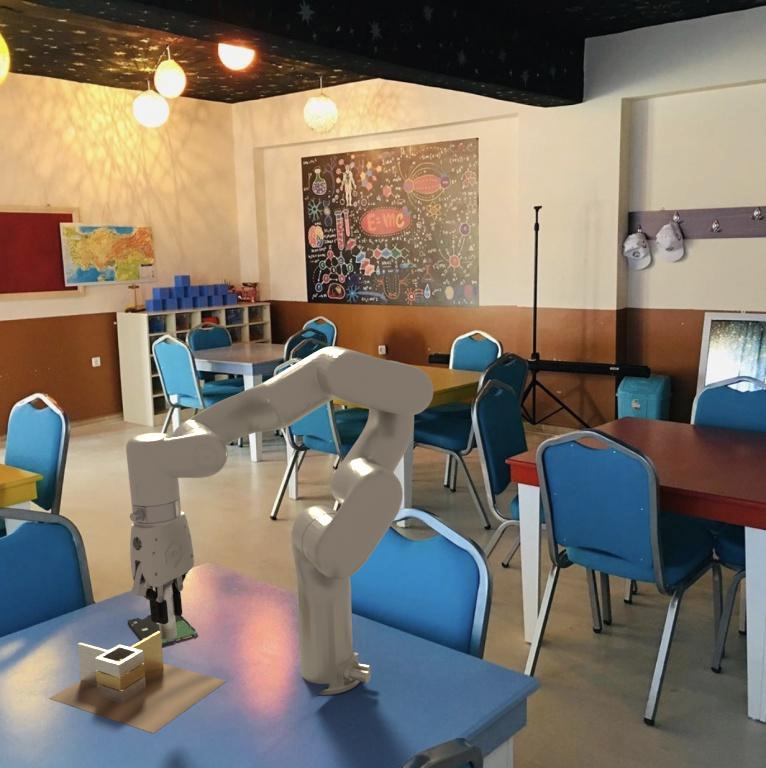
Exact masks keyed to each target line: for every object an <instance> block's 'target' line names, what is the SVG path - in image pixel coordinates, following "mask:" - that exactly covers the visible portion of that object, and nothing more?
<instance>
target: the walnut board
mask: <svg viewBox="0 0 766 768" xmlns="http://www.w3.org/2000/svg"><path fill="white" fill-rule="evenodd" d="M163 667H164V668H162V669H161V670H159V671H157V672H156V673H154V674H153V675H151V676H149V677H148V678H146V679H145V683H146V689H144V690H143V691H141V692H140V693H138V694H136V695H135V696H133V697H132V698H130V699H129V700H127V701H126V702H124V703H122V704H121V703H117V702H114V701H111V700H108V699H105V698H102V697H99V696H98V689H97V686H96V685H93V684H90V683H87V682H84V681H81V679H80V680H78V681H77V682H75V683H73V684H71V685H69V686H68V687H66V688H65V689H62V690H61V691H60V692H58V693H56V694H54V695H52V696H51V697H49V699H50V700H52V701H55V702H59V703H62V704H65V705H68V706H70V707H73V708H76V709H79V710H83V711H85V712H89V713H91V714H94V715H97V716H100V717H103V718H105V719H108V720H112V721H114V722H115V721H116V722H119V723H121V724H124V725H126V726H131V727H133V728H136V729H138V730H142V731H145V732H148V733H150V734H156V732H158V731H159V730H161V729H162V728H163V727H165V726H166V725H168V724H169V723H171V722H172V721H173V720H174V719H176V718H177V717H179V716H180V715H181V714H183V713H184V712H186V711H187V710H189V709H190V708H192V707H193V706H194V705H196V704H197V703H198V702H200V701H201V700H202V699H204V698H206V697H207V696H208V695H210V694H211V693H212V692H214V691H216V690H217V689H218V688H219V687H221V686H222V685H224V684H225V683H226V682H228V681H227V680H225V679H224V680H223V679H220V678H217V677H213V676H210V675H206V674H203V673H198V672H195V671H192V670H188V669H185V668H181V667H178V666H173V665H171V664H168V663H164V662H163Z"/></svg>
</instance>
